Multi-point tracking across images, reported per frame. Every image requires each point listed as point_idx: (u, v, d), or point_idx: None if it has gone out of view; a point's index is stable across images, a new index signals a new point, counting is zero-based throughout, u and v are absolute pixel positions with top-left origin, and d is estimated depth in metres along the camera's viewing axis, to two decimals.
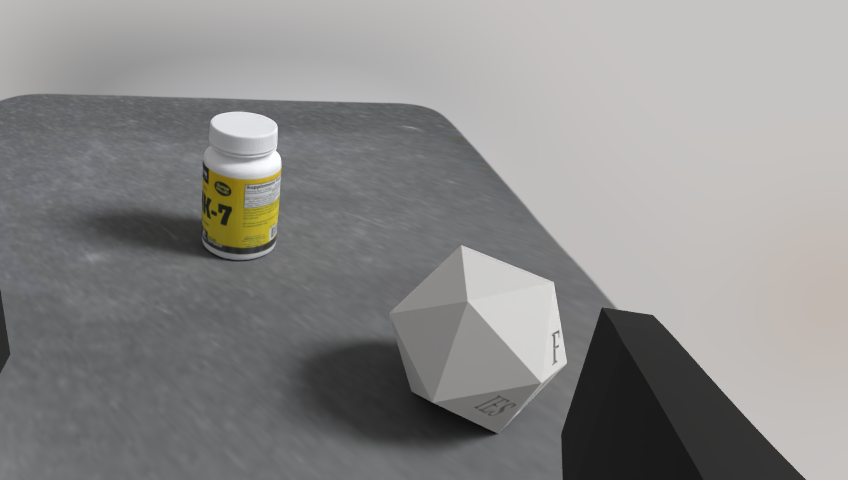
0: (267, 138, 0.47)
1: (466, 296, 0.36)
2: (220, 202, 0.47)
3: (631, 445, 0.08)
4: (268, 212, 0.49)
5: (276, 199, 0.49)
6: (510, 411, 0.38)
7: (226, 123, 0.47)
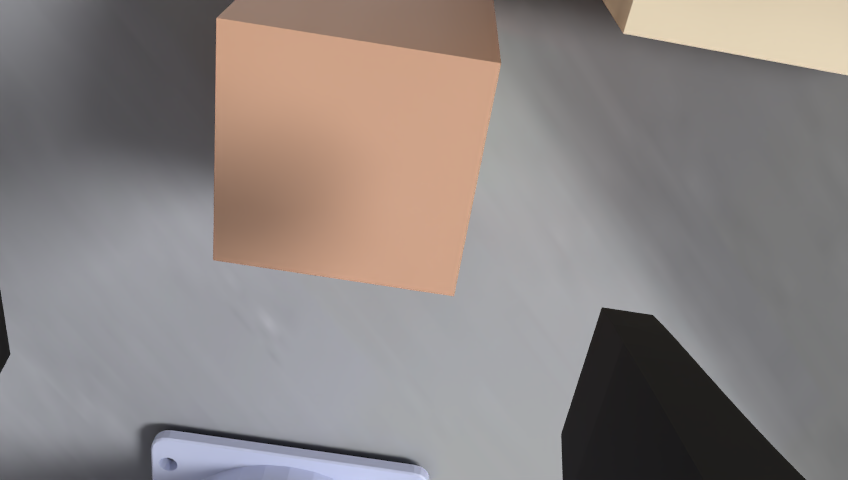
0: None
1: None
2: None
3: (631, 445, 0.08)
4: None
5: None
6: None
7: None
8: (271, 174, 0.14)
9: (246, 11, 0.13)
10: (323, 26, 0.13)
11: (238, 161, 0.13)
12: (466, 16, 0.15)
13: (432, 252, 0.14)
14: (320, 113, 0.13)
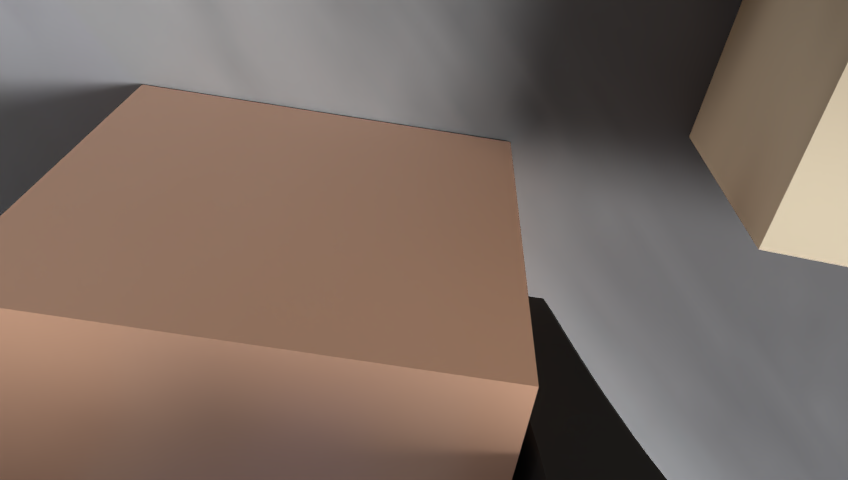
0: None
1: None
2: None
3: None
4: None
5: None
6: None
7: None
8: None
9: (4, 260, 0.06)
10: (162, 296, 0.06)
11: None
12: (464, 212, 0.08)
13: None
14: (163, 461, 0.06)
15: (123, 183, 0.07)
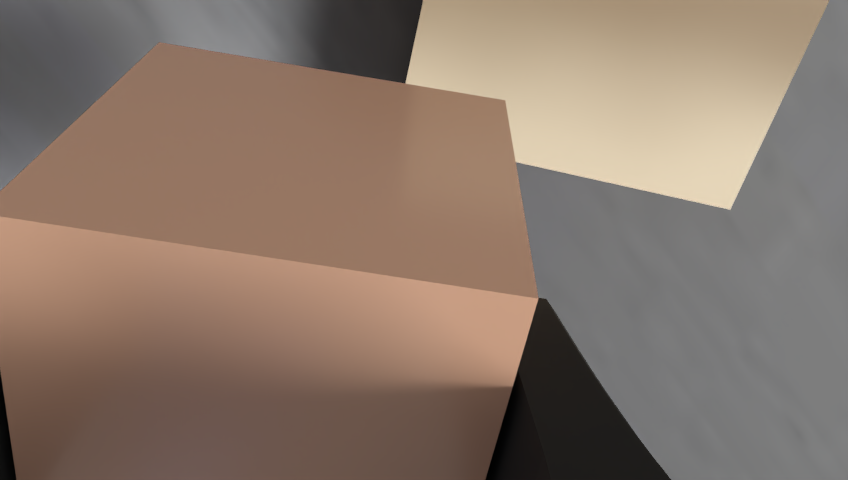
0: None
1: None
2: None
3: (502, 426, 0.08)
4: None
5: None
6: None
7: None
8: (116, 459, 0.08)
9: (52, 185, 0.07)
10: (199, 218, 0.07)
11: (54, 439, 0.07)
12: (466, 158, 0.09)
13: None
14: (196, 371, 0.07)
15: (152, 126, 0.08)
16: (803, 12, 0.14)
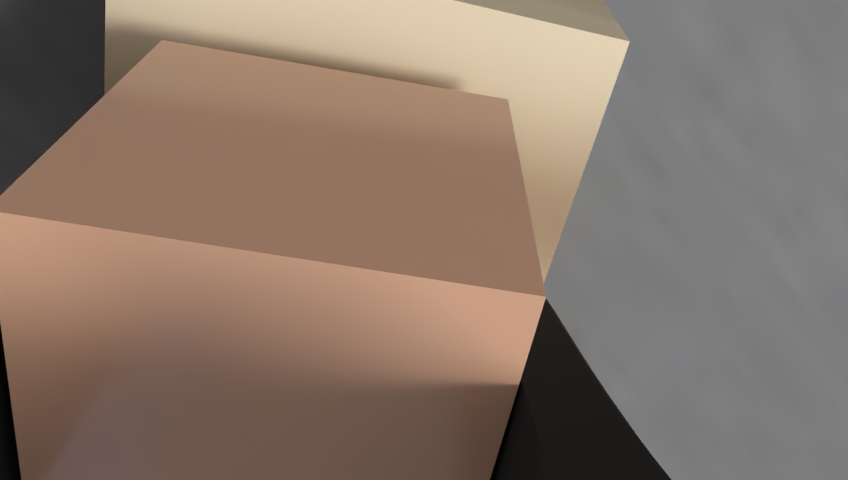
0: None
1: None
2: None
3: None
4: None
5: None
6: None
7: None
8: (122, 456, 0.08)
9: (59, 182, 0.07)
10: (207, 217, 0.07)
11: (58, 437, 0.07)
12: (470, 157, 0.09)
13: None
14: (202, 369, 0.07)
15: (158, 123, 0.08)
16: (541, 225, 0.12)
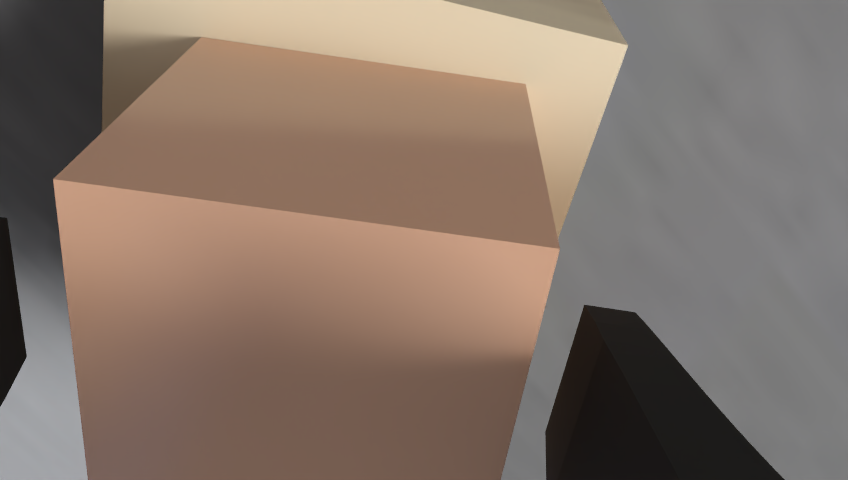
0: None
1: None
2: None
3: (609, 442, 0.08)
4: None
5: None
6: None
7: None
8: (174, 411, 0.08)
9: (116, 157, 0.07)
10: (249, 183, 0.07)
11: (118, 393, 0.08)
12: (490, 132, 0.09)
13: None
14: (246, 324, 0.08)
15: (201, 107, 0.09)
16: None
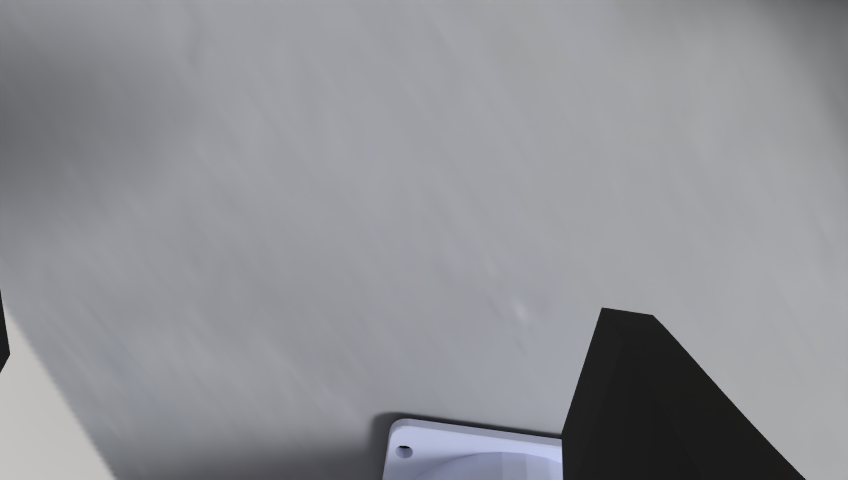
0: None
1: None
2: None
3: (631, 445, 0.08)
4: None
5: None
6: None
7: None
8: None
9: None
10: None
11: None
12: None
13: None
14: None
15: None
16: None
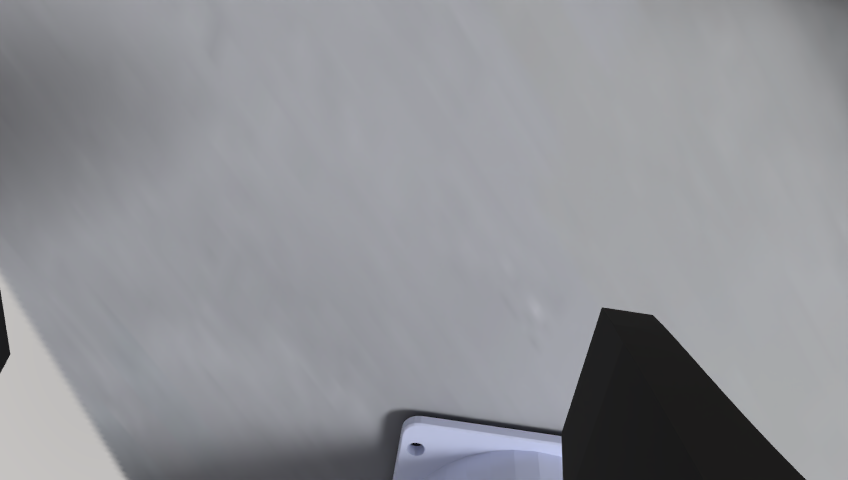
0: None
1: None
2: None
3: (630, 445, 0.08)
4: None
5: None
6: None
7: None
8: None
9: None
10: None
11: None
12: None
13: None
14: None
15: None
16: None
